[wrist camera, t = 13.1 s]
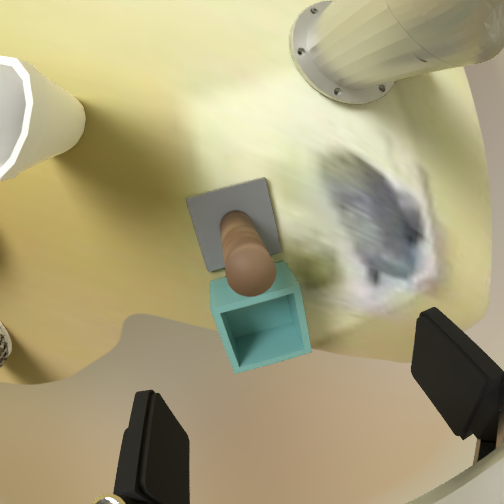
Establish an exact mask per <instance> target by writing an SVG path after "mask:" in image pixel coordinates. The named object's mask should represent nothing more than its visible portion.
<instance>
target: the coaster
mask: <svg viewBox="0 0 504 504" xmlns="http://www.w3.org/2000/svg"><path fill="white" fill-rule="evenodd" d="M186 202H187V206H188V209H189V212H190V216H191V219H192V222H193V226H194V229H195V232H196V236H197V239H198V242H199V245H200V248H201V252H202V255H203V258H204V261H205V264H206V267H207V270H208V272H211V271H214V270H218V269H222V268H225V264H224V257H223V249H222V241H221V233H220V221H221V219H222V217H223V216H224V215H225V214H226V213H228V212H230V211H233V210H239V211H242V212H244V213H246V214H247V215H248V216H249V218H250V219H251V221H252V223H253V225H254V227H255V228H256V230H257V232H258V234H259V236H260V238H261V239H262V241H263V243H264V245H265V247H266V249H267V250H268V252H269V254H270V255H273V254H276V253H280V252H282V251H281V246H280V242H279V237H278V233H277V228H276V224H275V219H274V215H273V210H272V206H271V201H270V197H269V193H268V188H267V184H266V180H265V177H263V178H259V179H255V180H251V181H247V182H243V183H239V184H235V185H231V186H228V187H224V188H220V189H216V190H213V191H209V192H206V193H202V194H199V195H195V196H192V197H188V198H186Z"/></svg>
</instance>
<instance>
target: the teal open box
mask: <svg viewBox="0 0 504 504" xmlns="http://www.w3.org/2000/svg"><path fill="white" fill-rule="evenodd" d="M275 266H276V278H275V281H274V283H273V285H272V286H271V288H270V289H269V290H267V291H266V292H265V293H263V294H261V295H258V296H254V297H246V296H242V295H239V294H237V293H236V292H234V291H233V290H232V289H231V288H230V286H229V284H228V282H227V278H226V277H223V278H219V279H216V280H212V281H210V309H211V312H212V315H213V318H214V320H215V323H216V326H217V329H218V331H219V334H220V337H221V339H222V341H223V344H224V347H225V350H226V353H227V355H228V358H229V360H230V363H231V365H232V368H233V371H234V373H240V372H244V371H248V370H251V369H255V368H259V367H263V366H266V365H270V364H273V363H277V362H280V361H284V360H287V359H291V358H294V357H297V356H301V355H304V354H307V353H310V352H312V351H311V345H310V339H309V333H308V327H307V322H306V316H305V310H304V305H303V299H302V294H301V289H300V284H299V282H298V281H297V279H296V278H295V276H294V274H293V273H292V271H291V270H290V268H289V267H288V265H287V263H286V262H285V261H281V262H278V263H275Z"/></svg>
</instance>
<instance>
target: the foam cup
mask: <svg viewBox="0 0 504 504" xmlns="http://www.w3.org/2000/svg"><path fill="white" fill-rule="evenodd" d="M85 122H86V116H85V111H84V107H83V105H82V104H81V103H80V102H79V101H78V100H77V98H75V97H74V96H73V95H71V94H70V93H69V92H67V91H66V90H64V89H63V88H61V87H60V86H59V85H57V84H56V83H54V82H53V81H52V80H50V79H49V78H47V77H46V76H44V75H43V74H42V73H40V72H39V71H38V70H37V69H36V67H35V66H34V65H33V64H31V63H28V62H26V61H23V60H20V59H17V58H12V57H5V56H0V181H3V180H7V179H11V178H15V177H16V176H17V175H18V174H19V173H20V172H21V171H23V170H26V169H28V168H30V167H32V166H34V165H36V164H39V163H41V162H43V161H45V160H48V159H50V158H52V157H55V156H57V155H59V154H62V153H64V152H66V151H68V150H69V149H71V148H72V147H73V146H74V145H76V144H77V142H78V141H79V139H80V137H81V136H82V134H83V132H84V127H85Z"/></svg>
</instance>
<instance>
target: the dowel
mask: <svg viewBox="0 0 504 504" xmlns="http://www.w3.org/2000/svg"><path fill="white" fill-rule="evenodd" d="M220 233H221V241H222V249H223V257H224V264H225V271H226V278H227V282H228V284H229V286H230V288H231V289H232V290H233V291H234V292H236V293H237V294H239V295H242V296H246V297H254V296H258V295H261V294H263V293H265V292H266V291H267V290H269V289H270V288H271V286H272V285H273V283H274V281H275V278H276V266H275V263H274V261H273V260H272V258H271V256H270V254H269V252H268V250H267V249H266V247H265V245H264V243H263V241H262V239H261V238H260V236H259V234H258V232H257V230H256V228H255V227H254V225H253V223H252V221H251V219H250V218H249V216H248V215H247V214H246V213H244V212H242V211H239V210H233V211H230V212H228V213H226V214H225V215H224V216H223V217H222V219H221V221H220Z"/></svg>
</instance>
